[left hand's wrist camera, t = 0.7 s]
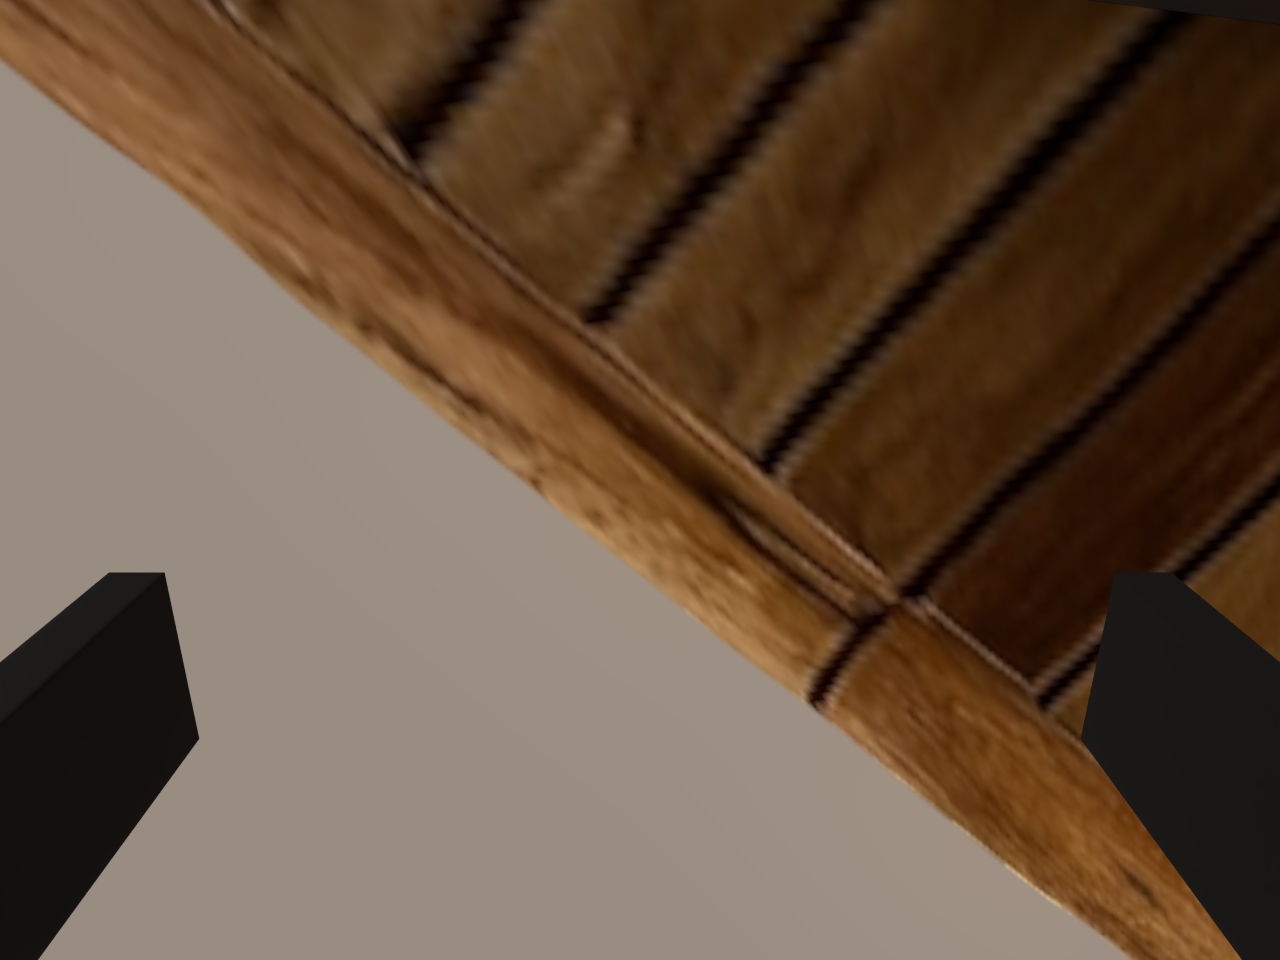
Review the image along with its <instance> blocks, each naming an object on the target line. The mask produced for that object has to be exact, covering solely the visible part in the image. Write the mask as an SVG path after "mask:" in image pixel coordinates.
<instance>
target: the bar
mask: <svg viewBox="0 0 1280 960" xmlns="http://www.w3.org/2000/svg"><path fill="white" fill-rule="evenodd" d="M1092 1H1100V2H1108V3H1116V4H1124V5H1132V6H1140V7H1148V8H1155V9H1163V10H1171V11H1179V12H1187V13H1195V14H1203V15H1211V16H1219V17H1226V18H1234V19H1242V20H1250V21H1258V22H1266V23H1274V24H1280V0H1092Z"/></svg>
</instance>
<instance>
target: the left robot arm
mask: <svg viewBox="0 0 1280 960" xmlns="http://www.w3.org/2000/svg"><path fill="white" fill-rule="evenodd" d="M198 740H199V735H198V731H197V726H196V721H195V716H194V711H193V707H192V702H191V697H190V692H189V688H188V683H187V678H186V673H185V668H184V663H183V659H182V654H181V649H180V644H179V640H178V635H177V630H176V625H175V620H174V616H173V611H172V606H171V601H170V596H169V592H168V587H167V582H166V577H165V573H108V574H107V575H105V576H104V577H103V578H102V579H101V580H99V581H98V582H97V583H96V584H95V585H93V586H92V587H91V588H90V589H89V590H87V591H86V592H85V593H84V594H83V595H81V596H80V597H79V598H78V599H76V600H75V601H74V602H73V603H72V604H70V605H69V606H68V607H67V608H65V609H64V610H63V611H62V612H61V613H59V614H58V615H57V616H56V617H55V618H53V619H52V620H51V621H50V622H49V623H47V624H46V625H45V626H44V627H42V628H41V629H40V630H39V631H38V632H36V633H35V634H34V635H33V636H32V637H30V638H29V639H28V640H27V641H26V642H24V643H23V644H22V645H21V646H19V647H18V648H17V649H16V650H15V651H13V652H12V653H11V654H10V655H9V656H7V657H6V658H5V659H4V660H2V661H1V662H0V960H38V959H39V958H40V956H41V955H42V954H43V952H44V951H45V950H46V948H47V947H48V945H49V944H50V943H51V941H52V940H53V939H54V937H55V936H56V934H57V933H58V932H59V930H60V929H61V928H62V926H63V925H64V923H65V922H66V921H67V919H68V918H69V917H70V915H71V914H72V913H73V911H74V910H75V908H76V907H77V906H78V904H79V903H80V901H81V900H82V899H83V897H84V896H85V895H86V893H87V892H88V891H89V889H90V888H91V886H92V885H93V884H94V882H95V881H96V880H97V878H98V877H99V876H100V874H101V873H102V871H103V870H104V869H105V867H106V866H107V864H108V863H109V862H110V860H111V859H112V858H113V856H114V855H115V854H116V852H117V851H118V849H119V848H120V847H121V845H122V844H123V843H124V841H125V840H126V839H127V837H128V836H129V834H130V833H131V832H132V830H133V829H134V828H135V826H136V825H137V823H138V822H139V821H140V819H141V818H142V817H143V815H144V814H145V812H146V811H147V810H148V808H149V807H150V806H151V804H152V803H153V801H154V800H155V799H156V797H157V796H158V795H159V793H160V792H161V790H162V789H163V788H164V786H165V785H166V784H167V782H168V781H169V779H170V778H171V777H172V775H173V774H174V773H175V771H176V770H177V769H178V767H179V766H180V764H181V763H182V762H183V760H184V759H185V758H186V756H187V755H188V753H189V752H190V751H191V749H192V748H193V747H194V745H195V744H196V743H197V741H198ZM1081 740H1082V741H1083V743H1084V744H1085V745H1086V747H1087V748H1088V749H1089V751H1090V752H1091V754H1092V755H1093V756H1094V758H1095V759H1096V760H1097V762H1098V763H1099V764H1100V766H1101V767H1102V769H1103V770H1104V771H1105V773H1106V774H1107V775H1108V777H1109V778H1110V780H1111V781H1112V782H1113V784H1114V785H1115V786H1116V788H1117V789H1118V791H1119V792H1120V793H1121V795H1122V796H1123V797H1124V799H1125V800H1126V801H1127V803H1128V804H1129V806H1130V807H1131V808H1132V810H1133V811H1134V812H1135V814H1136V815H1137V817H1138V818H1139V819H1140V821H1141V822H1142V823H1143V825H1144V826H1145V828H1146V829H1147V830H1148V832H1149V833H1150V834H1151V836H1152V837H1153V839H1154V840H1155V841H1156V843H1157V844H1158V845H1159V847H1160V848H1161V849H1162V851H1163V852H1164V854H1165V855H1166V856H1167V858H1168V859H1169V860H1170V862H1171V863H1172V865H1173V866H1174V867H1175V869H1176V870H1177V871H1178V873H1179V874H1180V876H1181V877H1182V878H1183V880H1184V881H1185V882H1186V884H1187V885H1188V886H1189V888H1190V889H1191V891H1192V892H1193V893H1194V895H1195V896H1196V897H1197V899H1198V900H1199V902H1200V903H1201V904H1202V906H1203V907H1204V908H1205V910H1206V911H1207V913H1208V914H1209V915H1210V917H1211V918H1212V919H1213V921H1214V922H1215V923H1216V925H1217V926H1218V928H1219V929H1220V930H1221V932H1222V933H1223V934H1224V936H1225V937H1226V939H1227V940H1228V941H1229V943H1230V944H1231V945H1232V947H1233V948H1234V950H1235V951H1236V952H1237V954H1238V955H1239V956H1240V958H1241V959H1242V960H1280V662H1279V661H1278V660H1276V659H1275V658H1274V657H1273V656H1272V655H1270V654H1269V653H1268V652H1267V651H1265V650H1264V649H1263V648H1262V647H1261V646H1259V645H1258V644H1257V643H1256V642H1255V641H1253V640H1252V639H1251V638H1250V637H1248V636H1247V635H1246V634H1245V633H1244V632H1242V631H1241V630H1240V629H1239V628H1238V627H1236V626H1235V625H1234V624H1233V623H1232V622H1230V621H1229V620H1228V619H1227V618H1225V617H1224V616H1223V615H1222V614H1221V613H1219V612H1218V611H1217V610H1216V609H1215V608H1213V607H1212V606H1211V605H1210V604H1208V603H1207V602H1206V601H1205V600H1204V599H1202V598H1201V597H1200V596H1199V595H1198V594H1196V593H1195V592H1194V591H1193V590H1191V589H1190V588H1189V587H1188V586H1187V585H1185V584H1184V583H1183V582H1182V581H1181V580H1179V579H1178V578H1177V577H1176V576H1175V575H1173V574H1172V573H1115V577H1114V582H1113V587H1112V592H1111V596H1110V601H1109V606H1108V611H1107V616H1106V620H1105V625H1104V630H1103V635H1102V640H1101V644H1100V649H1099V654H1098V659H1097V663H1096V668H1095V673H1094V678H1093V683H1092V687H1091V692H1090V697H1089V702H1088V707H1087V711H1086V716H1085V721H1084V726H1083V730H1082V735H1081Z"/></svg>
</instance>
